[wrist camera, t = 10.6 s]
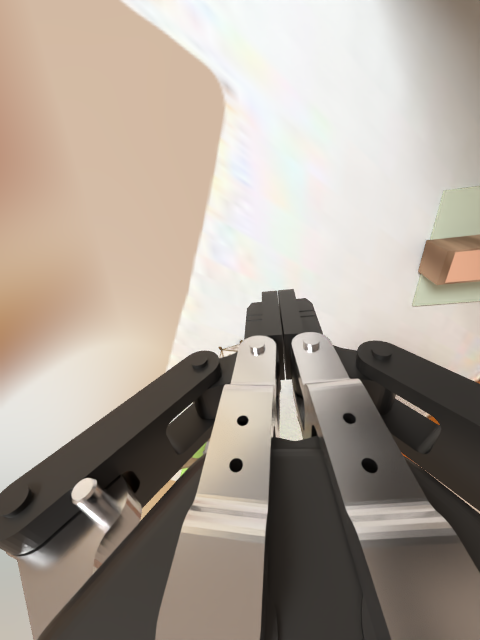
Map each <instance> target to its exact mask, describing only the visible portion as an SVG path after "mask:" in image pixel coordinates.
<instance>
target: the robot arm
mask: <svg viewBox="0 0 480 640" xmlns="http://www.w3.org/2000/svg"><path fill="white" fill-rule="evenodd" d="M278 299H279V304H278ZM283 354H284V356H283ZM284 363H285V372H286V380H288V379H292V383H293V397H294V401H295V406H296V410H297V414H298V419H299V423H300V427H301V431H302V436H303V440H300V441H290V440H286V439H282V438H279V433H280V390H281V381H280V380H285V374H284ZM396 394H397V395H398V396H400V397H402V398H403V399H405V400H407V401H408V402H410V403H412V404H413V405H415V406H417V407H418V408H420V409H422V410H423V411H425V412H427V413H428V414H430V415H432V416H433V417H434V418H435V419H436V420H437V421H438V422H439V424H440V425H438V424H436V423H434V422H433V421H431V420H429V419H428V418H426V417H424V416H423V415H421V414H420V413H418V412H416V411H415V410H413V409H411V408H410V407H408V406H406V405H405V404H403V403H401V402H400V401H398V400H397V399H395V396H396ZM192 402H193V404H192V405H191V406H190V407H189V408H187V409H186V410H185V411H184V412H183V413H182V414H181V415H179V416H178V417H177V418H176V419H175V420H174V421H173V422H171V421H172V420H173V419H174V418H175V417H176V416H177V415H178V414H180V413H181V412H182V411H183V410H184V409H185V408H186V407H188V406H189V405H190V404H191V403H192ZM170 422H171V423H170ZM169 423H170V424H169ZM209 439H210V442H209V446H208V450H207V453H205V454H204V455H202V456H201V457H200V458H198V459H197V460H196V461H195V462H194V463H193V464H192V465H191V466H190V467H189V468H188V469H187V470H186V471H185V472H184V473H183V474H182V476H181V477H180V478H179V479H178V480H177V481H176V482H175V483H174V485H173V486H172V487H171V488H170V489H169V490H168V491H167V492H166V493H165V494H164V496H163V497H162V498H161V499H160V500H159V501H158V502H157V503H156V504H155V506H154V507H153V508H152V509H151V510H150V511H149V512H148V513H147V515H146V516H145V517H144V518H143V519H142V520H141V521H140V519H141V513H142V508H143V507H144V506H145V505H146V504H147V503H148V502H149V501H150V500H151V498H152V497H153V496H154V495H155V494H156V493H157V492H158V491H159V490H160V489H161V488H162V487H163V486H164V485H165V484H166V483H167V482H168V481H169V480H170V479H171V478H172V477H173V476H174V475H175V474H176V473H177V472H178V471H179V470H180V469H181V468H182V467H183V466H184V465H185V463H186V462H187V461H188V460H189V459H190V458H191V457H192V456H193V455H194V454H195V453H196V452H197V451H198V450H199V449H200V448H201V447H202V446H203V445H204V444H205V443H206V442H207V441H208V440H209ZM401 452H402V453H403V454H404V455H406V456H407V457H408V458H410V459H411V460H412V461H414V462H415V463H416V464H415V463H414V462H412V461H411V460H409V459H408V458H406V457H404V456H403V455H402V453H401ZM417 464H418V465H419V466H418V465H417ZM421 467H422V468H423V469H422V468H421ZM425 470H426V471H427V472H428V473H427V472H426V471H425ZM429 473H430V474H431V475H432V476H431V475H430V474H429ZM433 476H434V477H435V478H436V479H438V480H439V481H440V482H442V483H443V484H444V485H446V486H447V487H448V488H450V489H451V490H452V491H454V492H455V493H456V494H457V495H459V496H460V497H461V498H463V499H464V500H465V501H467V502H468V503H470V504H471V505H472V506H473V507H475V508H476V509H478V510H479V511H480V384H479V383H476V382H474V381H472V380H470V379H468V378H465V377H463V376H461V375H459V374H457V373H454V372H452V371H450V370H448V369H446V368H443V367H441V366H439V365H437V364H435V363H432V362H430V361H428V360H426V359H424V358H421V357H419V356H417V355H415V354H413V353H410V352H408V351H406V350H404V349H402V348H399V347H397V346H395V345H393V344H390V343H387V342H383V341H368V342H365V343H363V344H361V345H360V346H359V347H358V350H357V351H356V350H349V349H343V348H339V347H336V346H334V345H332V343H331V341H330V339H329V338H328V337H326V336H325V335H323V333H322V330H321V327H320V324H319V321H318V318H317V316H316V313H315V311H314V307H313V304H312V303H311V302H310V301H309V300H307V299H306V298H303V299H296V297H295V293H294V289H289V290H278V296H277V291H268V292H262V302H257V303H251V305H250V306H249V307H248V308H247V316H246V326H245V338H244V341H242V342H241V344H240V346H239V349H238V351H237V352H236V353H234V354H232V355H229V356H226V357H222V358H219V357H218V356H217V355H216V354H215V353H214V352H211V351H199V352H195V353H193V354H191V355H189V356H188V357H186V358H185V359H184V360H182V361H181V362H179V363H178V364H177V365H175V366H174V367H172V368H171V369H170V370H168V371H167V372H166V373H164V374H163V375H162V376H160V377H159V378H158V379H156V380H155V381H153V382H152V383H150V384H149V385H148V386H146V387H145V388H143V389H142V390H141V391H139V392H138V393H137V394H135V395H134V396H132V397H131V398H129V399H128V400H127V401H125V402H124V403H123V404H121V405H120V406H118V407H117V408H116V409H114V410H113V411H111V412H110V413H109V414H107V415H106V416H105V417H103V418H102V419H100V420H99V421H98V422H96V423H95V424H93V425H92V426H91V427H89V428H88V429H87V430H85V431H84V432H82V433H81V434H80V435H78V436H77V437H75V438H74V439H73V440H71V441H70V442H69V443H67V444H66V445H64V446H63V447H62V448H60V449H59V450H57V451H56V452H55V453H53V454H52V455H51V456H49V457H48V458H46V459H45V460H44V461H42V462H41V463H39V464H38V465H37V466H35V467H34V468H32V469H31V470H30V471H28V472H27V473H25V474H24V475H23V476H21V477H20V478H19V479H17V480H16V481H14V482H13V483H12V484H10V485H9V486H8V487H7V488H6V489H4V490H3V491H2V492H1V493H0V549H2V550H4V551H6V553H7V554H8V555H9V556H11V557H13V558H15V559H16V560H17V562H18V566H19V571H20V576H21V581H22V586H23V590H24V595H25V600H26V605H27V609H28V615H29V620H30V625H31V630H32V635H33V639H34V640H480V514H479V513H478V512H477V511H475V510H474V509H473V508H472V507H470V506H469V505H468V504H467V503H465V502H464V501H463V500H462V499H460V498H459V497H457V495H455V494H454V493H453V492H452V491H450V490H449V489H448V488H446V487H445V486H444V485H442V484H441V483H440V482H439V481H438V480H436V479H435V478H434V477H433Z"/></svg>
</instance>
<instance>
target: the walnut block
mask: <svg viewBox="0 0 480 640" xmlns="http://www.w3.org/2000/svg"><path fill="white" fill-rule="evenodd" d="M418 272H419V273H421V274H422V275H423V276H425V277H426V278H428V279H429V280H430V281H432V282H433V283H434V284H436V285H444V284H456V283H467V282H479V281H480V234H479V235H470V236H461V237H452V238H443V239H433V240H427V241H426V244H425V248H424V252H423V256H422V259H421V263H420V267H419V270H418Z"/></svg>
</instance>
